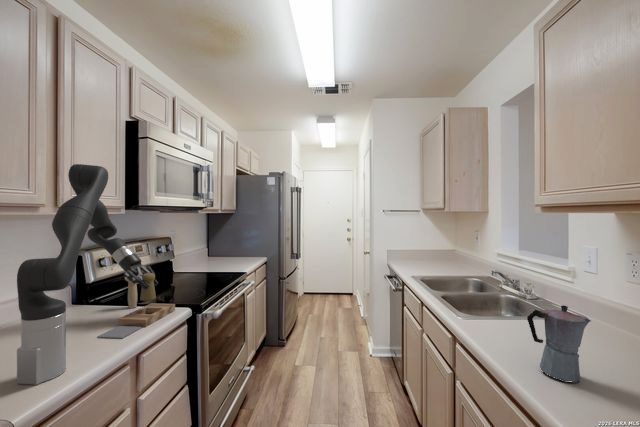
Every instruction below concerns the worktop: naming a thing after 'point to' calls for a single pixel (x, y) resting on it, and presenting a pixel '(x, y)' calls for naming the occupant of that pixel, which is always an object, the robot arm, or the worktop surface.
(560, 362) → the moka pot
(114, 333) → the rubber mat
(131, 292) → the handle
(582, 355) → the worktop surface
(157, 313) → the wooden compartment tray
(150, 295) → the cork
